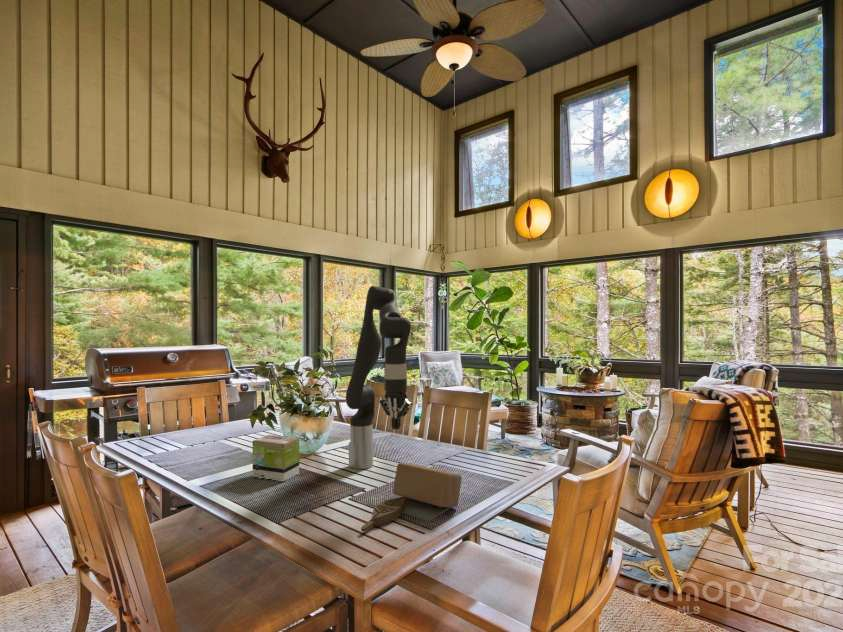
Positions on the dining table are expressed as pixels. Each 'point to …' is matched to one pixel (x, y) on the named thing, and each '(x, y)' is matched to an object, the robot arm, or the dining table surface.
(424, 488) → the block
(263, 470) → the tea box
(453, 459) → the dining table surface
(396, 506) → the leaf carving
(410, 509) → the mat
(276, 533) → the dining table surface
